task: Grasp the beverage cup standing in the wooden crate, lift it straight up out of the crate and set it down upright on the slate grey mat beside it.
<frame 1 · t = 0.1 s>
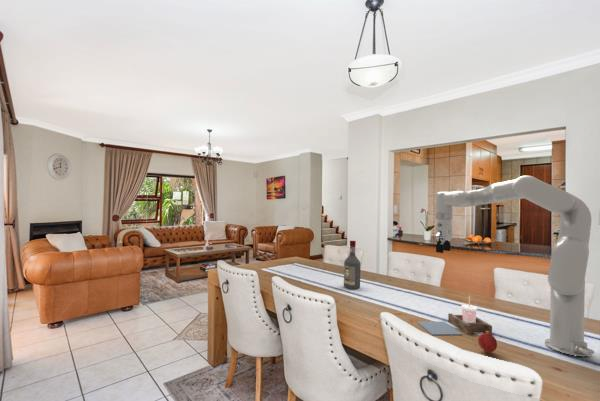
hand: (443, 251, 143), 31 cm above the table, tool pointing down, fingers open, 9 cm apart
onion: (487, 353, 105), on the table
mat: (438, 328, 126), on the table
liquor: (351, 287, 187), on the table
wooden crate: (469, 327, 128), on the table
beverage cup: (469, 327, 128), resting in wooden crate
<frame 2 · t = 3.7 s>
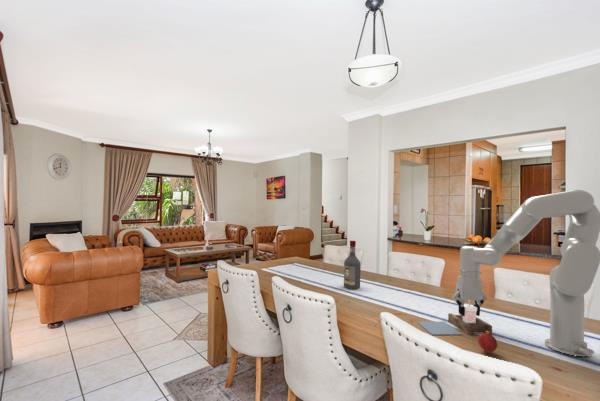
hand: (469, 314, 128), 6 cm above the table, tool pointing down, fingers closed on beverage cup, 6 cm apart
beverage cup: (469, 327, 128), resting in wooden crate, touching gripper
everything else where it was.
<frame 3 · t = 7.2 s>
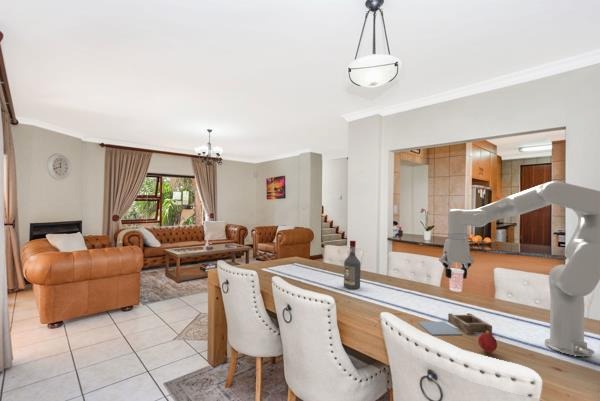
hand: (456, 277, 128), 22 cm above the table, tool pointing down, fingers closed on beverage cup, 6 cm apart
beverage cup: (455, 290, 128), point 16 cm above the table, touching gripper
everything else where it was.
when the fingers open (7 cm above the table, at t = 10.9 s): beverage cup drops 1 cm, resting on mat.
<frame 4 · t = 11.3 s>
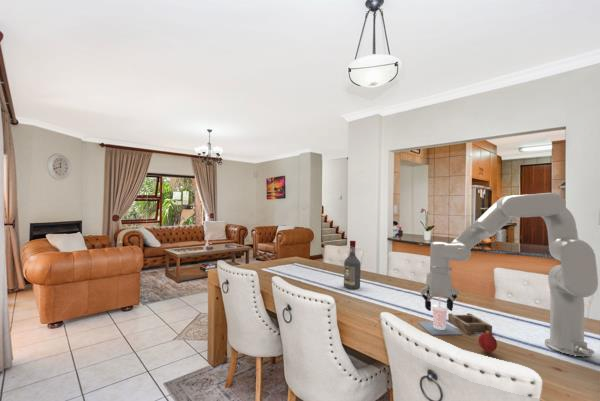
hand: (438, 309, 126), 8 cm above the table, tool pointing down, fingers open, 9 cm apart
beverage cup: (439, 328, 126), resting on mat
everything else where it was.
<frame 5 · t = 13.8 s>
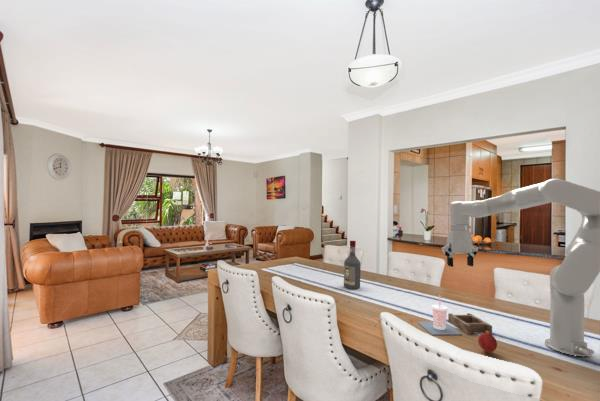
hand: (460, 266, 132), 26 cm above the table, tool pointing down, fingers open, 9 cm apart
nothing on the table moved.
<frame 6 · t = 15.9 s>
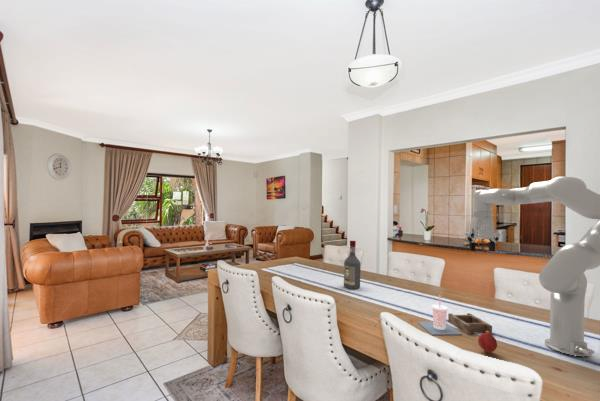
hand: (482, 250, 139), 32 cm above the table, tool pointing down, fingers open, 9 cm apart
nothing on the table moved.
at the end: beverage cup inside the target area on the mat (0.3 cm from its centre), point 0.2 cm above the mat's base; beverage cup tilted 0°; the gripper is holding nothing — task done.
